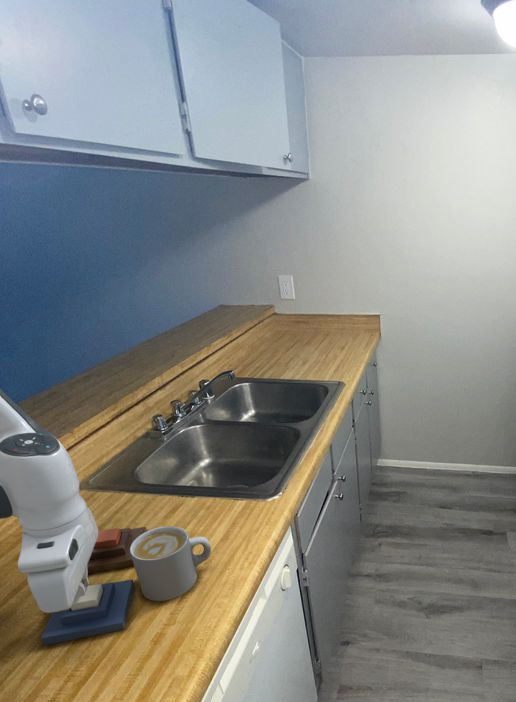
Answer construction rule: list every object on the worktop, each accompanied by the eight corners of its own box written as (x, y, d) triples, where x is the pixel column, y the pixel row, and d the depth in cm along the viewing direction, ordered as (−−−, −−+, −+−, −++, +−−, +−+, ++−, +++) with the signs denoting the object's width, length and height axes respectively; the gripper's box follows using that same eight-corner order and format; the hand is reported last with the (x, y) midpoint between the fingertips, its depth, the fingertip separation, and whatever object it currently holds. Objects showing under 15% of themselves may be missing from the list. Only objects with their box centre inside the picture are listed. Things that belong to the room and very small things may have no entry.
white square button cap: (72, 611, 82) (69, 604, 81) (78, 595, 86) (75, 587, 85) (98, 606, 83) (95, 599, 83) (103, 590, 87) (101, 583, 86)
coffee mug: (140, 606, 88) (127, 565, 83) (143, 571, 96) (132, 532, 91) (216, 588, 92) (208, 548, 88) (213, 556, 100) (206, 518, 96)
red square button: (95, 549, 96) (93, 542, 96) (100, 537, 100) (97, 530, 99) (117, 546, 98) (115, 539, 97) (121, 534, 101) (119, 527, 100)
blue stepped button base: (44, 645, 79) (37, 630, 78) (63, 598, 89) (58, 584, 87) (124, 629, 83) (119, 615, 81) (134, 585, 92) (130, 571, 91)
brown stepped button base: (72, 576, 94) (67, 562, 92) (86, 541, 103) (82, 529, 101) (139, 565, 97) (135, 551, 96) (147, 532, 106) (144, 520, 105)
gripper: (56, 495, 84) (77, 555, 91) (12, 573, 67) (41, 640, 74) (96, 491, 86) (114, 550, 93) (63, 565, 69) (88, 631, 76)
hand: (82, 590), depth 83 cm, fingers closed
